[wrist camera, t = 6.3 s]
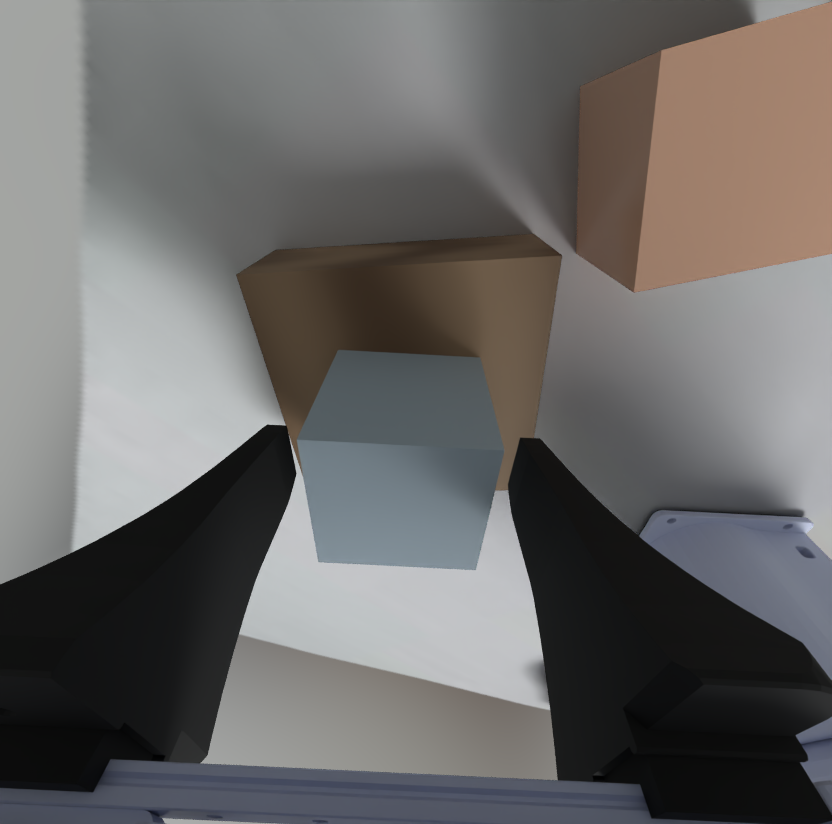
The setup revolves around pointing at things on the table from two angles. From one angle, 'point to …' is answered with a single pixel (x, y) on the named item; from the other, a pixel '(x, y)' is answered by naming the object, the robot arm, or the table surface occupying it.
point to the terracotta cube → (710, 155)
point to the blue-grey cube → (401, 460)
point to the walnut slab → (409, 316)
